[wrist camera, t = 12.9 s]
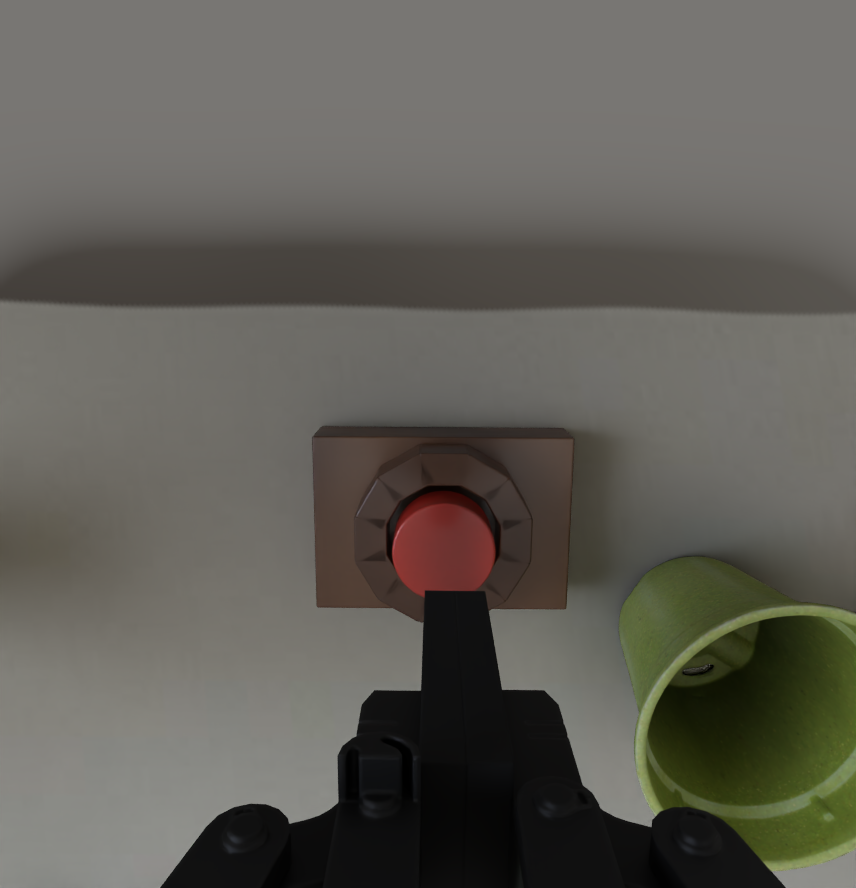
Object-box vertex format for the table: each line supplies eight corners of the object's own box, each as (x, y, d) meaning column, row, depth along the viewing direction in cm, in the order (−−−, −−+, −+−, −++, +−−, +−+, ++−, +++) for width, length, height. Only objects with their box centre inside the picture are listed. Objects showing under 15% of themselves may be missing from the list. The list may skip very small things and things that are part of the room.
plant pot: (814, 689, 31) (957, 835, 23) (606, 742, 32) (671, 903, 23) (775, 493, 29) (916, 571, 21) (556, 551, 30) (606, 651, 22)
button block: (324, 586, 30) (308, 628, 26) (320, 425, 29) (303, 445, 25) (557, 588, 30) (575, 630, 26) (564, 427, 29) (585, 447, 25)
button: (394, 582, 26) (392, 601, 25) (394, 489, 26) (391, 502, 24) (490, 583, 26) (494, 602, 25) (492, 490, 26) (497, 503, 24)
